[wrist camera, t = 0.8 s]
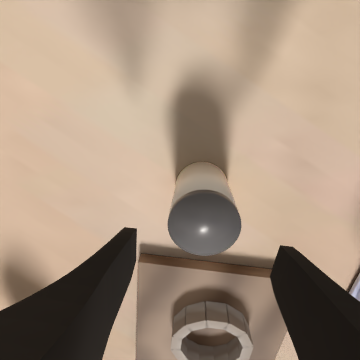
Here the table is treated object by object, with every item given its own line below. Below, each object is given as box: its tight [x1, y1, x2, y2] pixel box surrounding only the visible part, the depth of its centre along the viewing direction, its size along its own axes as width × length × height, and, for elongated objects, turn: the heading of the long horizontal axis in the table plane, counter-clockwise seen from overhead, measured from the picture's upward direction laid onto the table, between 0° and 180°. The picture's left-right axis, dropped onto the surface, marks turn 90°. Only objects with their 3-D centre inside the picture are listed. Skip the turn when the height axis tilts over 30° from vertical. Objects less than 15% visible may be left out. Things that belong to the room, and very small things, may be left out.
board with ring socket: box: [136, 253, 287, 360], centre depth 23 cm, size 16×16×3 cm
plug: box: [168, 162, 241, 256], centre depth 16 cm, size 4×4×6 cm
